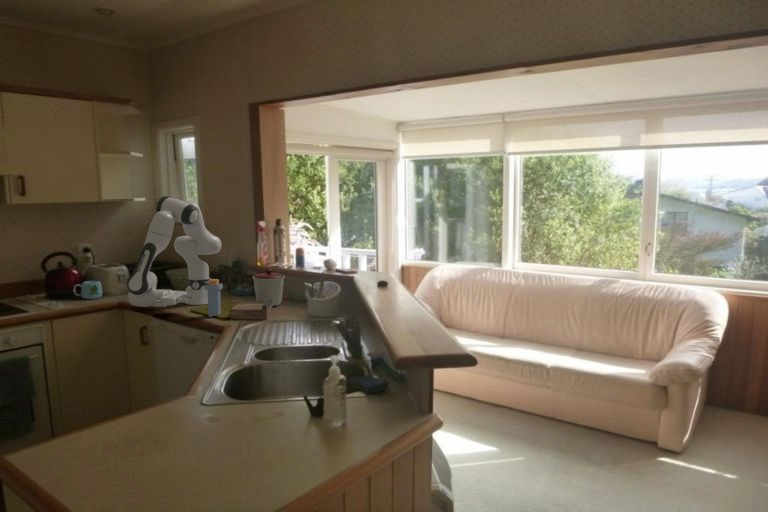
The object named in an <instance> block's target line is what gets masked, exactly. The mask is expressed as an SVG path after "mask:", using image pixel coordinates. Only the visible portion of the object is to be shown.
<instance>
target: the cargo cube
mask: <svg viewBox="0 0 768 512" xmlns="http://www.w3.org/2000/svg"><path fill="white" fill-rule="evenodd" d="M219 284H220V280H219V279H218V278H211V279H210V280H209V286H218V285H219Z"/></svg>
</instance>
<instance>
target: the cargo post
mask: <svg viewBox="0 0 768 512" xmlns="http://www.w3.org/2000/svg"><path fill="white" fill-rule="evenodd" d="M223 288H224V285H223V283H219V285H218V286H209V284H207V285H206V286H205V290H208V304H207V317H209V318H214V317H213V316H215V315H219V314H221V315H222V311H221V310H222V306H221V305H222V303H221V302H222V299H221V290H222V289H223Z"/></svg>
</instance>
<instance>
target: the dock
mask: <svg viewBox="0 0 768 512" xmlns="http://www.w3.org/2000/svg"><path fill="white" fill-rule="evenodd" d="M272 313H273V307H272V300H267V301H266V302H265V303H257V302H244V303H243V302H237V303H236V304H235V305H234V306H233V307H231V308H230V309H229V316H230V320H268V318H270V316H271V314H272Z"/></svg>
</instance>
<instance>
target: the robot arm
mask: <svg viewBox="0 0 768 512" xmlns="http://www.w3.org/2000/svg"><path fill="white" fill-rule="evenodd" d="M200 208H201V207H200V205H199V204H198V203H197V202H195V201H193V200H187V201H185V200H182V199H178V198H174V197H172V196H168V195H165V196H161V198H159V199H158V201H157V203H156V212H155V214H154V216H153V218H152V220H151V222H150V224H149V227H148V231H147V235H146V237H145V241H144V244H143V247H142V249H141V252H140V254H139V257H138V260H137V262H136V264H135V267H134V269H133V272H132V273H131V274H130V275H129V276H128V278H127V279H126V282H125V287H126V289H127V291H128V294H127V299H128V302H129V303H130V305H132V306H134V307H142V308H146V307H147V308H149V307H154V308H166V307H167V306H175V305H177V304H178V303H182V304H187V305H191V306H194V305H195V306H198V305H199V306H200V305H201V306H202V305H208V290H205V286H206V285H207V284H209V280H210V279H212V278H211V277H210V269H209V268H210V267H209V264H208V263H207V262H206V261H204V260H201V259H200V258H199V256H200V255H203V256H204V255H206V256H207V255H208V256H209V255H214V254H215V255H216V254H218V253H219V252H221V249H222V241H221V239H220V237H218V236H216V235H214V234H212V233H211V232H210V231H209V230H208V229H207V228H206V225H205V221H204V217H203V213H202V210H201V209H200ZM176 222H177V223H181V225H182V228H183V232H184V233H185V234H186V235H181V236H177V237H176V238H175V240H174V241H173V247H174V250H175V252H176V253H177V254H178V255H180V256H181V257H182V258H183V259H184V261H185V263H186V265H187V271H188V273H187V274H188V279H187V285H188V286H187V287H186V288H185V291H184V290H172V289H157V286H158V277H157V275H156V274H155V273H154V272H153V271H151V270H150V269H151V267H152V264H153V261H155V258H156V257H157V256H158V255H159V254H160V253H161V252H163V251H165V250H166V249H167V247H168V246H169V243H170V242H171V240H172V235H173V232H174V228H175V223H176ZM198 255H199V256H198Z"/></svg>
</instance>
